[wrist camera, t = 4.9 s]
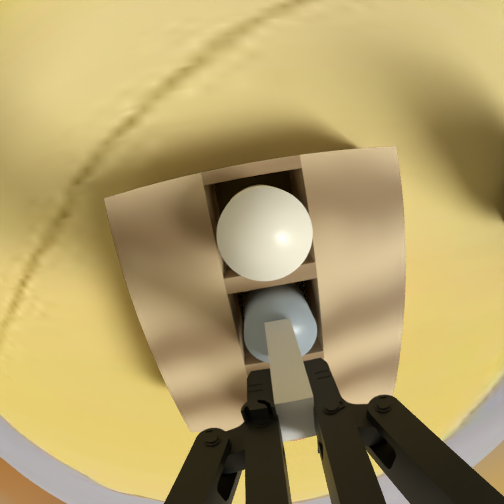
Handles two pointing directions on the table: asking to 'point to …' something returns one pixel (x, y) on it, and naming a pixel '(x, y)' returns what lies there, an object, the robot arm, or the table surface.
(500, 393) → the table surface
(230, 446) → the robot arm
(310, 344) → the blue egg
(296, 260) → the cream rounded piece
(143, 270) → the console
